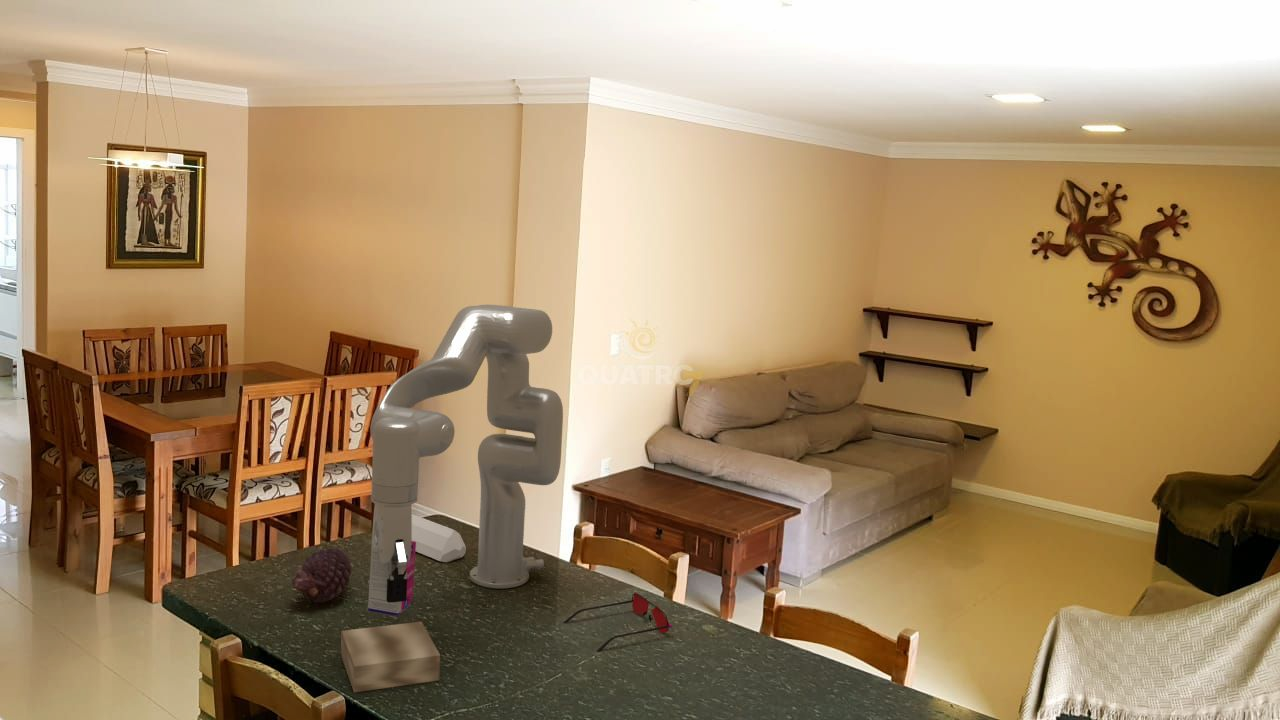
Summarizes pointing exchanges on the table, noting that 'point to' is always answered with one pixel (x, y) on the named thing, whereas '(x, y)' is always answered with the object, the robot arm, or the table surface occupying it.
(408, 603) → the supplement box
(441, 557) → the white chamfered bar
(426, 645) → the birch plinth
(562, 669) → the table surface
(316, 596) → the purple hedgehog toy
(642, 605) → the glasses
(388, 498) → the robot arm
